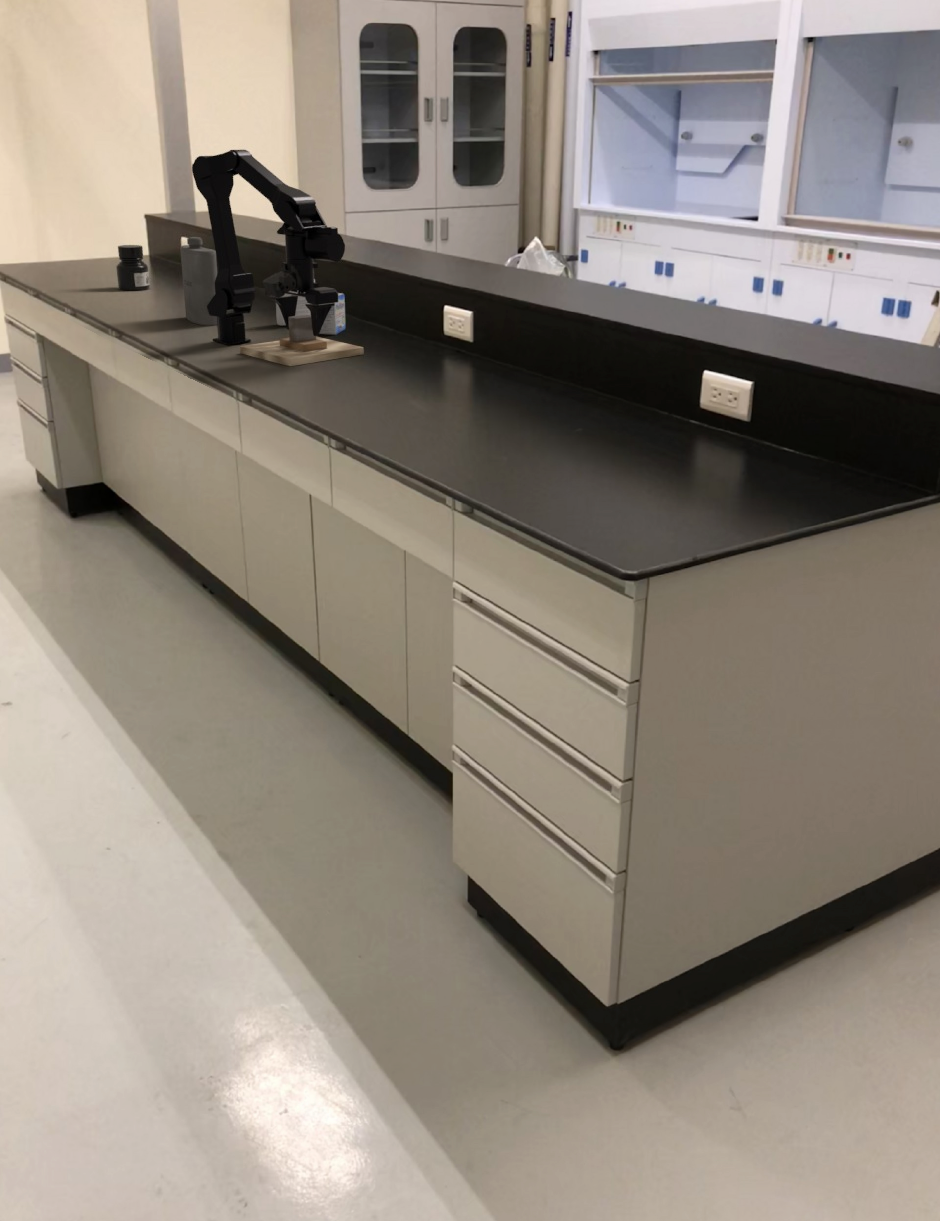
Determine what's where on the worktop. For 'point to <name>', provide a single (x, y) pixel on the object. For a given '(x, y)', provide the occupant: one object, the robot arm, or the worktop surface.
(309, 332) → the block
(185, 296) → the flask
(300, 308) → the white rectangular bottle
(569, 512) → the worktop surface
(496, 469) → the worktop surface
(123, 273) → the ink bottle
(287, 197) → the robot arm
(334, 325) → the medicine box
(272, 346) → the sanding board
